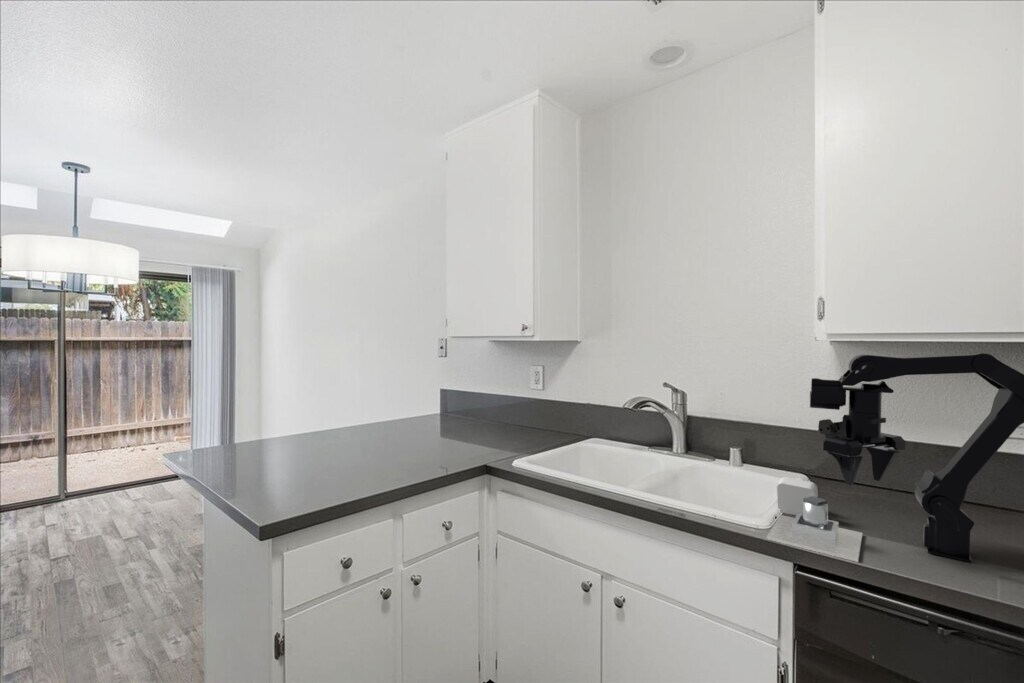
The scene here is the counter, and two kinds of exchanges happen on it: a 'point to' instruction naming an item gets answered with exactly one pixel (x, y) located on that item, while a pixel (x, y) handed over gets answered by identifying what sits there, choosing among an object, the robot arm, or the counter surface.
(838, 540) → the duct socket
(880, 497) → the counter surface
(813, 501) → the sleeve
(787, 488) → the grey rounded block
